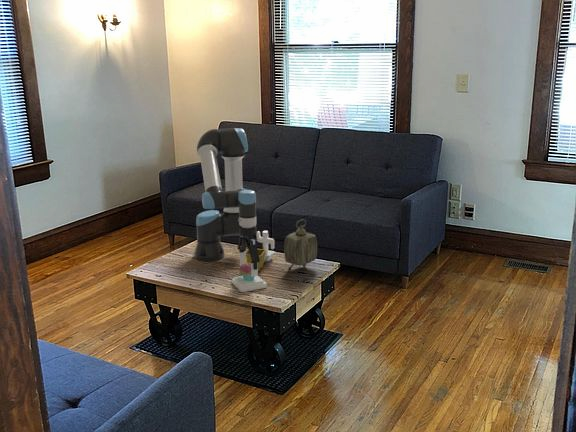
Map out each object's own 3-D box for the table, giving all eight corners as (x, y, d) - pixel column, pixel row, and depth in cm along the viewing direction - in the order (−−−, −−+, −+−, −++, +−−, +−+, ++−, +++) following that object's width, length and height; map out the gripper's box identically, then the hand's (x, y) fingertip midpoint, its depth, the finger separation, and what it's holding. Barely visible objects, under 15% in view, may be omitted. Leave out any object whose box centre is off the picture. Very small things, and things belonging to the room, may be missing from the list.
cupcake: (251, 283, 266) (250, 258, 263) (235, 280, 270) (234, 254, 267) (261, 277, 273) (261, 252, 270) (246, 273, 277) (245, 249, 274)
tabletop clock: (304, 263, 299) (304, 214, 292) (318, 267, 293) (318, 218, 286) (284, 271, 289) (283, 221, 282) (298, 275, 283) (298, 224, 276)
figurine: (271, 263, 299) (270, 234, 295) (254, 260, 303) (253, 232, 299) (277, 258, 305) (277, 230, 301) (260, 256, 309) (260, 228, 305)
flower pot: (261, 273, 286) (261, 255, 284) (243, 272, 288) (243, 254, 285) (266, 266, 295) (265, 249, 292) (248, 265, 296) (248, 248, 294)
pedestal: (232, 282, 275) (231, 276, 274) (256, 278, 280) (256, 272, 279) (241, 292, 265) (241, 285, 264) (266, 287, 270) (266, 281, 269)
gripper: (229, 219, 274) (231, 263, 280) (250, 234, 252) (251, 281, 258) (245, 217, 277) (246, 260, 283) (267, 232, 255) (267, 278, 261)
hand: (248, 270), depth 271 cm, fingers open, 13 cm apart
